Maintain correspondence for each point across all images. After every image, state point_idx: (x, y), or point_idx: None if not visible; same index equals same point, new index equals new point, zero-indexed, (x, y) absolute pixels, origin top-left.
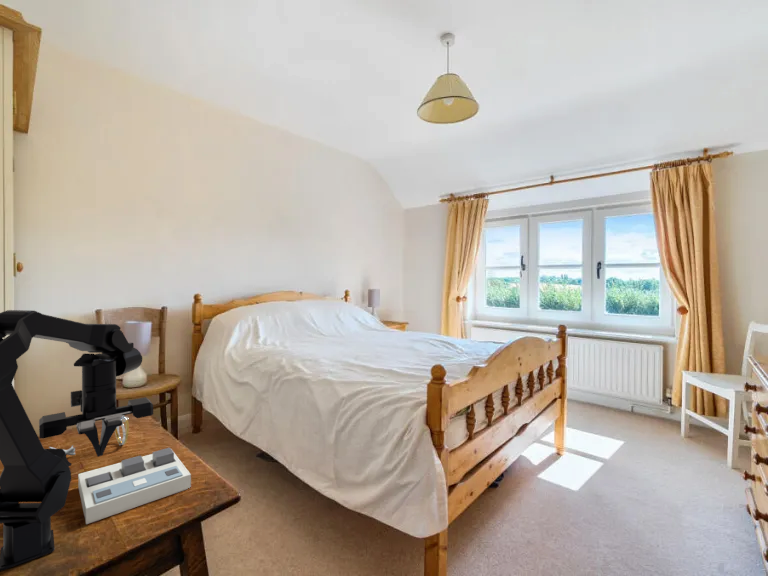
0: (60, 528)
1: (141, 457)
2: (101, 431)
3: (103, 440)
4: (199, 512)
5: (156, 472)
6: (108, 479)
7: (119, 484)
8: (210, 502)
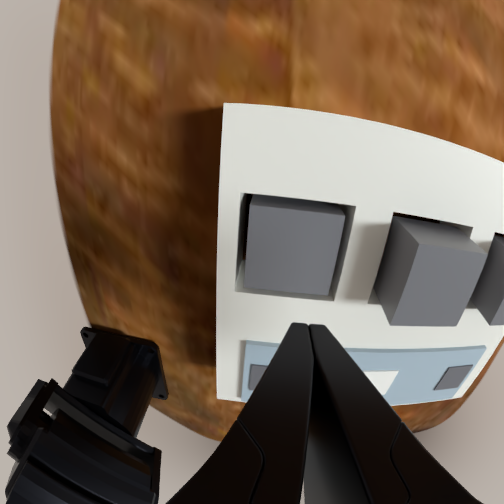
0: (172, 338)
1: (476, 280)
2: (365, 501)
3: (310, 500)
4: None
5: (439, 355)
6: (320, 291)
7: None
8: (419, 422)
